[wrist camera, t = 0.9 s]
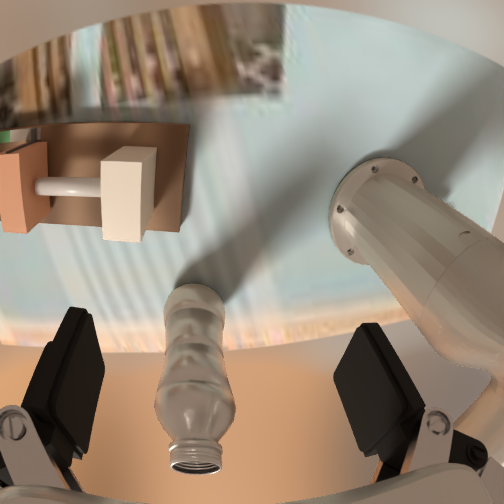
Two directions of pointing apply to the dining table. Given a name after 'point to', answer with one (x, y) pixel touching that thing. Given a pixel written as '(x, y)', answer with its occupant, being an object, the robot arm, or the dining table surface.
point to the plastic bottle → (194, 381)
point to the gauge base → (98, 148)
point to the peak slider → (23, 185)
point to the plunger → (115, 191)
